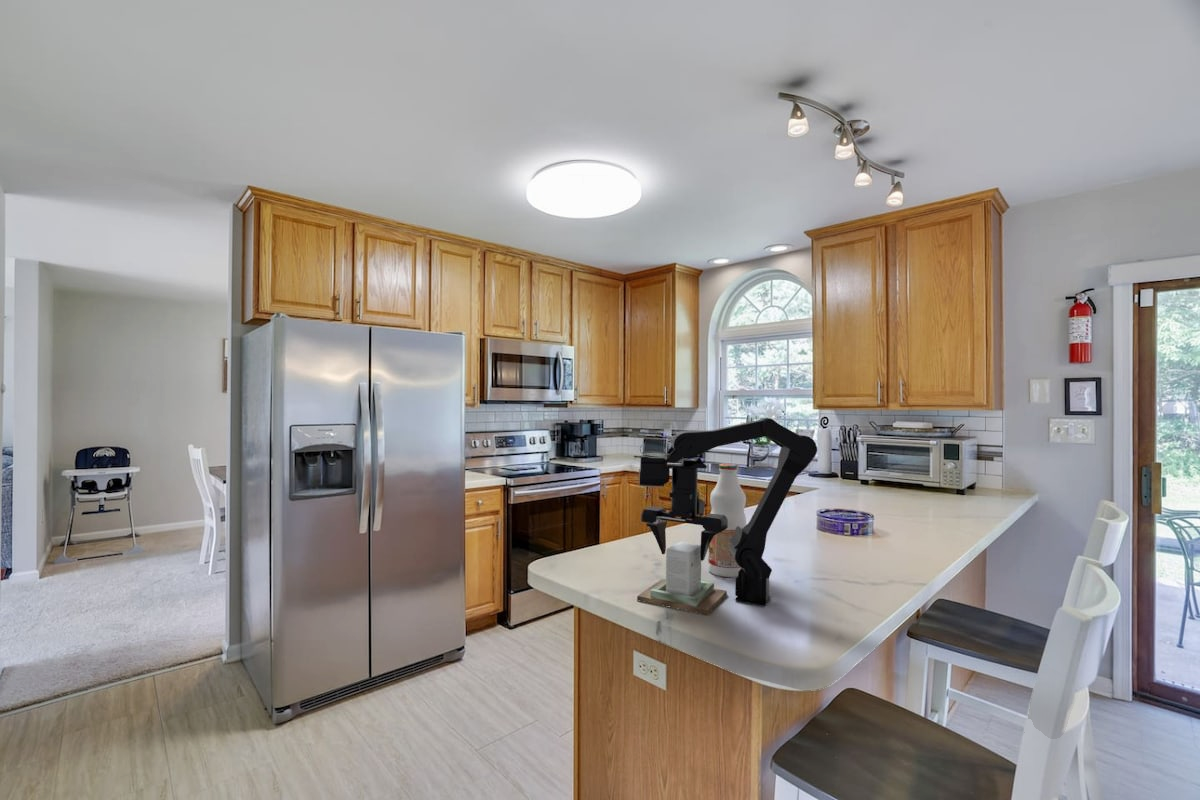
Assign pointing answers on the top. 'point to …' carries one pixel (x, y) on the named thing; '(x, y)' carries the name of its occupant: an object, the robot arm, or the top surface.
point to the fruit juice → (731, 504)
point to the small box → (683, 569)
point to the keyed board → (684, 597)
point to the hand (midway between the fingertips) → (682, 557)
